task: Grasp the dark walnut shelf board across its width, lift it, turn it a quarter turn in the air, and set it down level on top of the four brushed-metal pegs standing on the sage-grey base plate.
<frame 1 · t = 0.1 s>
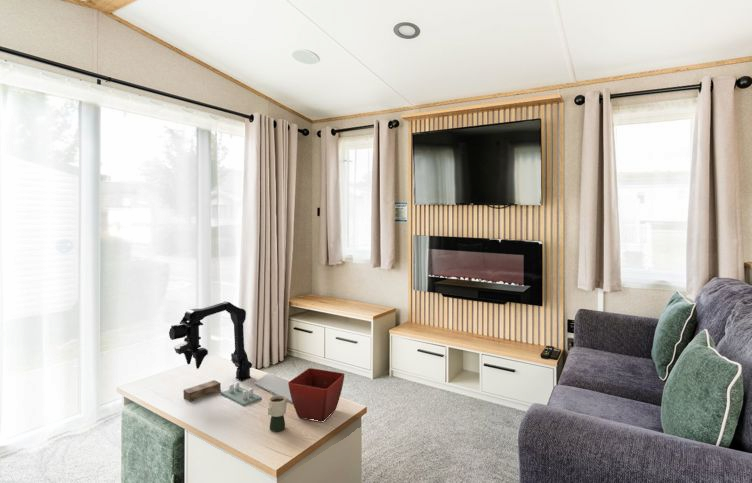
hand: (193, 366, 199), 15 cm above the table, fingers open, 9 cm apart
walnut shelf board: (202, 395, 200), on the table
character mug: (277, 429, 168), on the table
peg base: (241, 396, 198), on the table
plant pot: (317, 414, 181), on the table
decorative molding: (281, 393, 205), on the table
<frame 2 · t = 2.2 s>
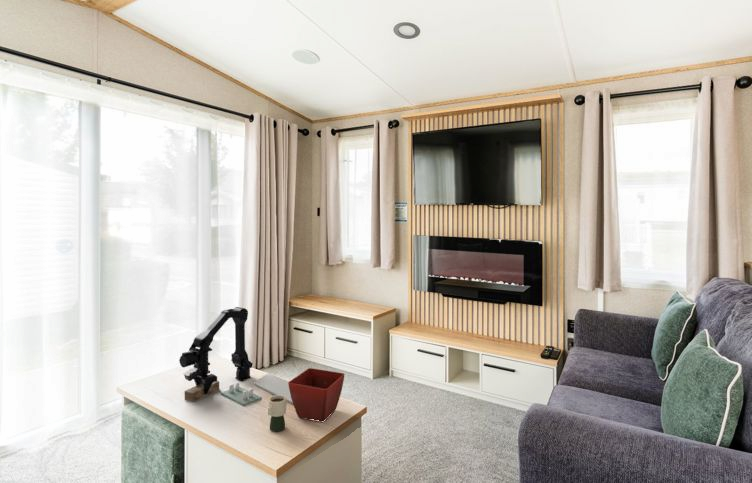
hand: (202, 392, 200), 1 cm above the table, fingers closed on walnut shelf board, 7 cm apart
walnut shelf board: (202, 394, 200), on the table, touching gripper
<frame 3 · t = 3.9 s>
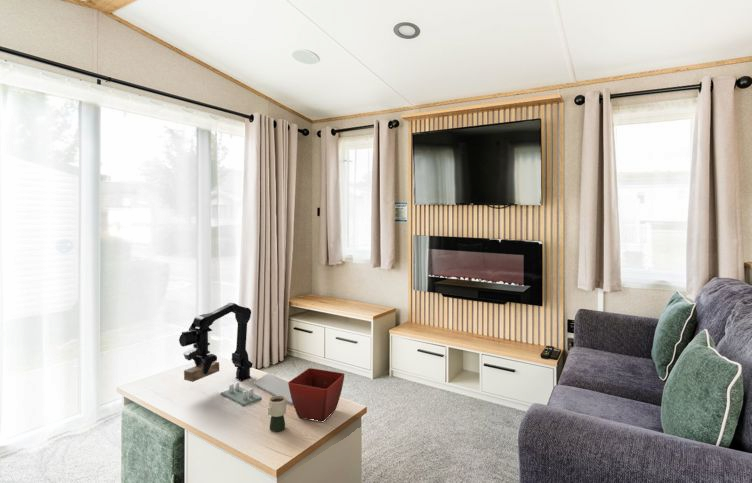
hand: (202, 372, 200), 11 cm above the table, fingers closed on walnut shelf board, 6 cm apart
walnut shelf board: (202, 375, 200), point 10 cm above the table, touching gripper
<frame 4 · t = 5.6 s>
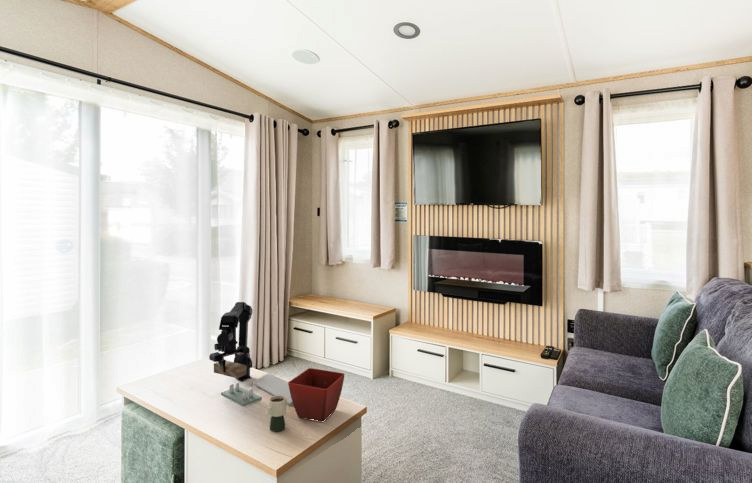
hand: (230, 370, 198), 13 cm above the table, fingers closed on walnut shelf board, 6 cm apart
walnut shelf board: (230, 373, 198), point 12 cm above the table, touching gripper
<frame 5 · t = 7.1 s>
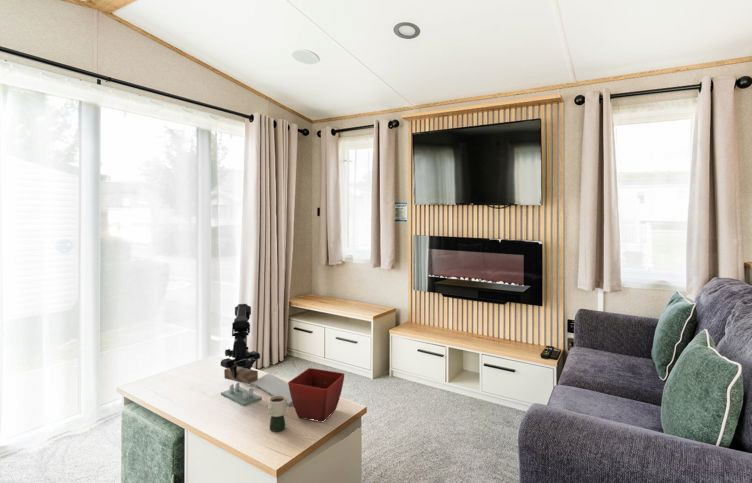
hand: (241, 376, 198), 10 cm above the table, fingers closed on walnut shelf board, 6 cm apart
walnut shelf board: (241, 379, 198), point 9 cm above the table, touching gripper
when the fingers open (7 cm above the table, at t = 8.3 s): walnut shelf board stays where it is, resting on peg base.
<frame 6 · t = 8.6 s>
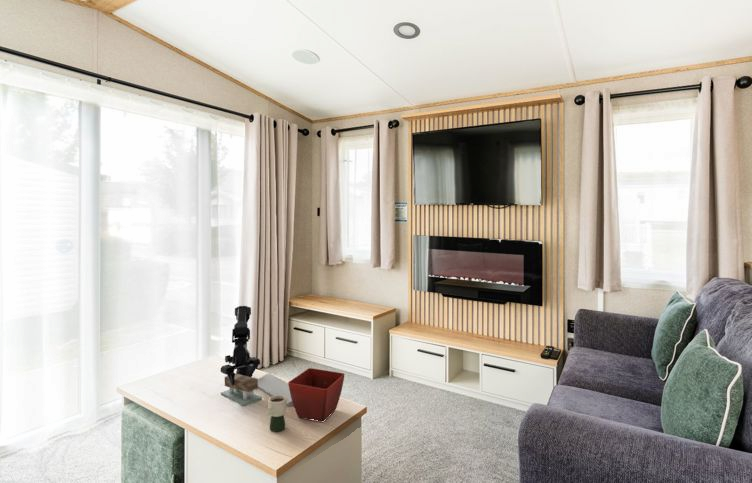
hand: (241, 382, 198), 7 cm above the table, fingers open, 9 cm apart
walnut shelf board: (241, 386, 198), point 5 cm above the table, touching peg base
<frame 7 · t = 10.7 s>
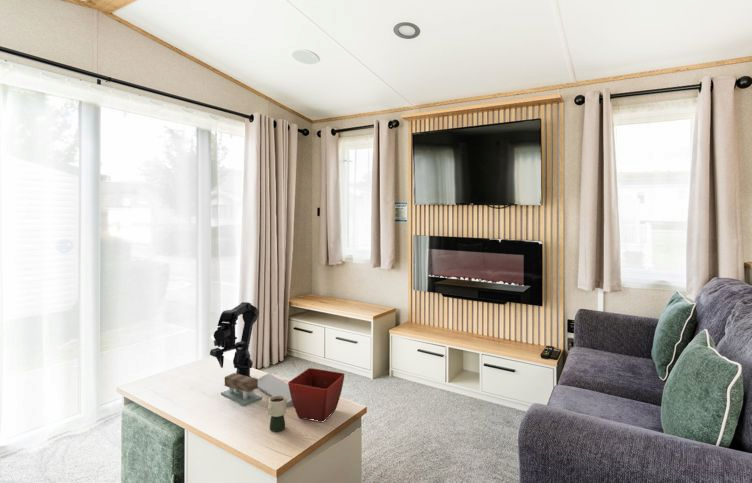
hand: (229, 365, 206), 13 cm above the table, fingers open, 9 cm apart
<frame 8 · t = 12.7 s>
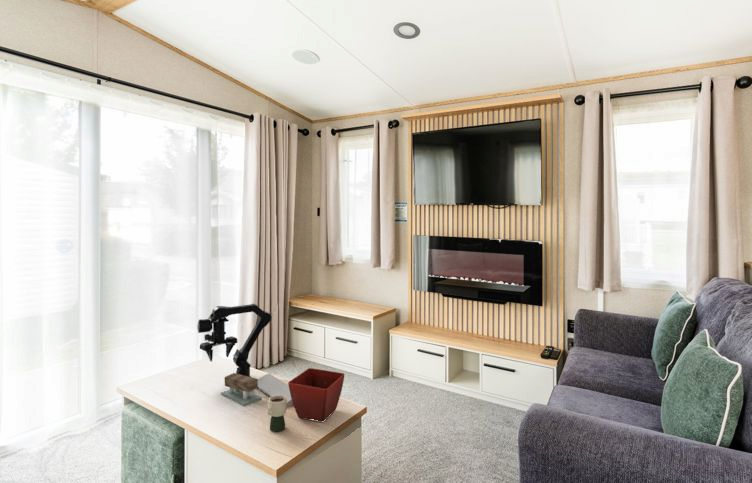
hand: (219, 359, 214), 13 cm above the table, fingers open, 9 cm apart
at the end: walnut shelf board 0.0 cm off-centre on the peg base, point 5.0 cm above the peg base's base; walnut shelf board tilted 0°; the gripper is holding nothing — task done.
